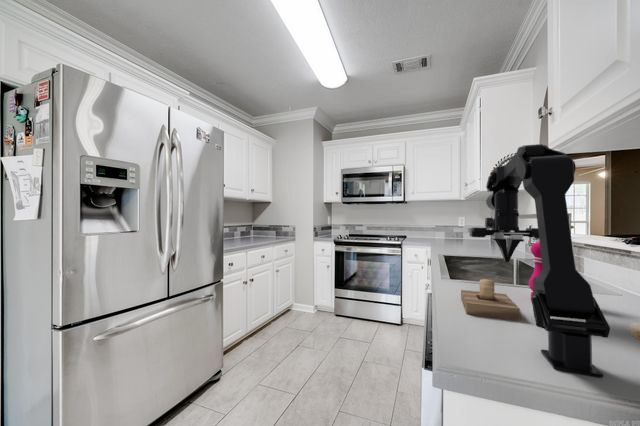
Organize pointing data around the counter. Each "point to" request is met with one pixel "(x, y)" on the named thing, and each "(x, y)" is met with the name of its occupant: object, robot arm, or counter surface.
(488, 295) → the peg
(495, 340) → the counter surface
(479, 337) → the counter surface
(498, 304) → the board
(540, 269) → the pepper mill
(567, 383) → the counter surface
